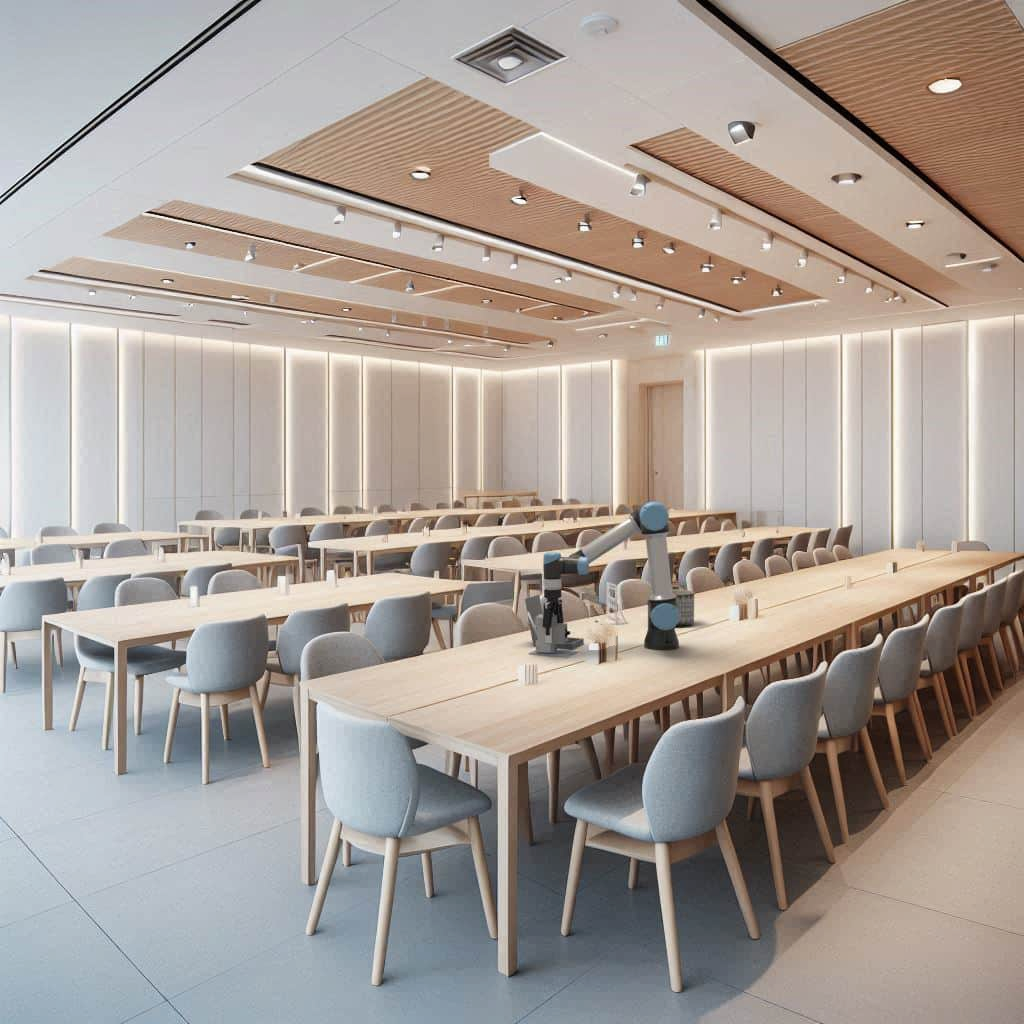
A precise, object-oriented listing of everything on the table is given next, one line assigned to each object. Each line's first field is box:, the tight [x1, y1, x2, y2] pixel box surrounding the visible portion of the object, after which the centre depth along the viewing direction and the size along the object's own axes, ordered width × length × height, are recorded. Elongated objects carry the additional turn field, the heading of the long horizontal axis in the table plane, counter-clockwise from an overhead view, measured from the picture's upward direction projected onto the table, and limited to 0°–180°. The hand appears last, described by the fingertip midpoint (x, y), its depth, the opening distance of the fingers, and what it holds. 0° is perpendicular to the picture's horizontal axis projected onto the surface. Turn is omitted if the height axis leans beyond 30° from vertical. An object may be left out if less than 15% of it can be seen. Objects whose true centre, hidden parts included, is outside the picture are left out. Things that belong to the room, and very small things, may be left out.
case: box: [524, 594, 585, 651], centre depth 383 cm, size 23×14×21 cm, turn 62°
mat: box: [528, 648, 579, 659], centre depth 366 cm, size 18×12×1 cm, turn 62°
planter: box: [672, 588, 695, 628], centre depth 427 cm, size 19×19×16 cm
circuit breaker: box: [535, 614, 571, 653], centre depth 366 cm, size 8×14×15 cm, turn 76°
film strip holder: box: [605, 581, 629, 626], centre depth 437 cm, size 14×14×20 cm
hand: (553, 640), depth 366 cm, fingers open, 9 cm apart
